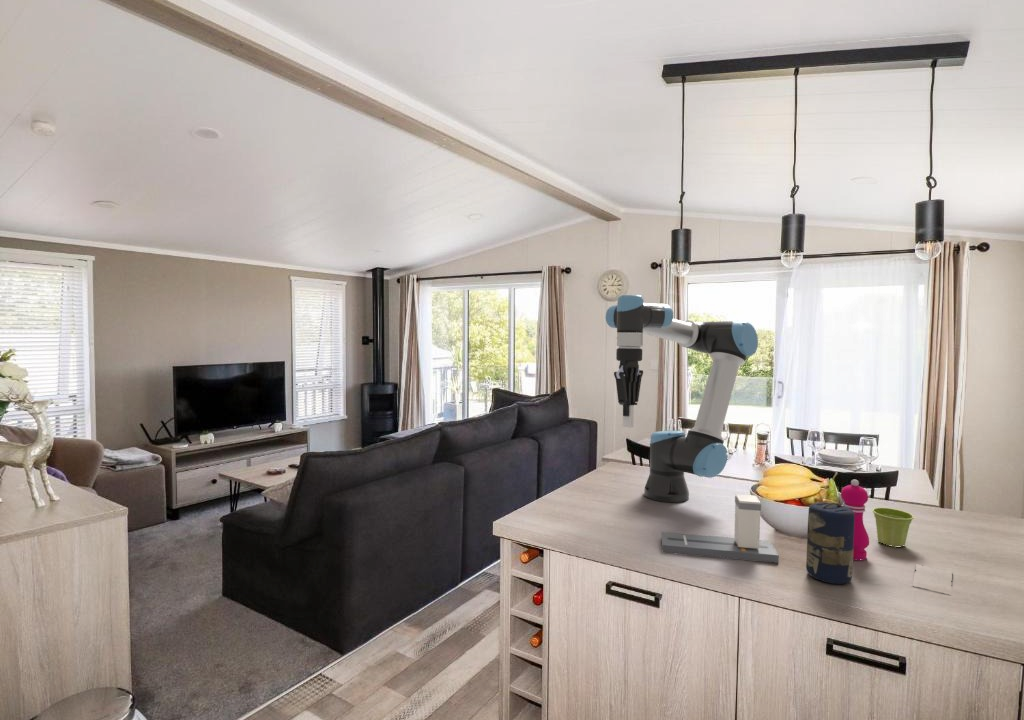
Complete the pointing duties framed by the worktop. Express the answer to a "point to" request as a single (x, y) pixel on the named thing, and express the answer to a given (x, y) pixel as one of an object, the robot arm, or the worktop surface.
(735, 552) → the fader console
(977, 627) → the worktop surface
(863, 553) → the pepper mill
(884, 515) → the plant pot
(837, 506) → the canister
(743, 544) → the fader knob
